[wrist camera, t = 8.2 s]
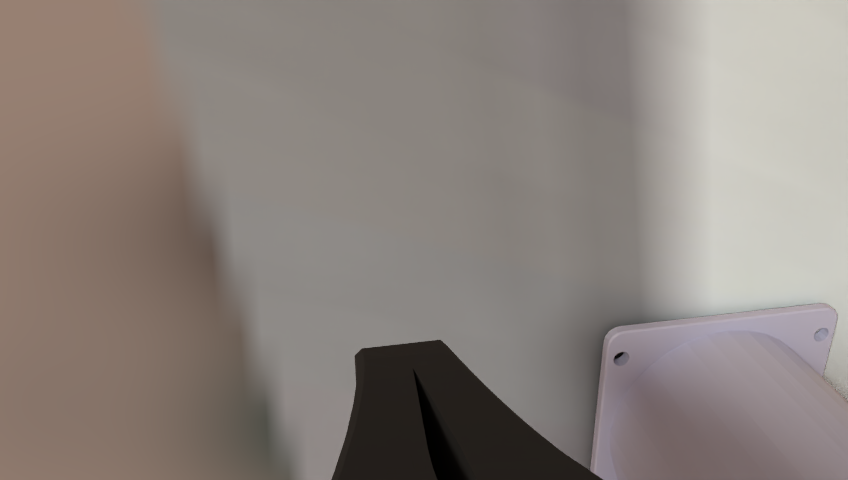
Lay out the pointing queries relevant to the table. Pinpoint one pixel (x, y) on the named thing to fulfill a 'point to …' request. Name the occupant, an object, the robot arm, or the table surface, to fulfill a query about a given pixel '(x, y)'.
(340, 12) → the table surface
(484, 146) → the table surface
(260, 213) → the table surface
